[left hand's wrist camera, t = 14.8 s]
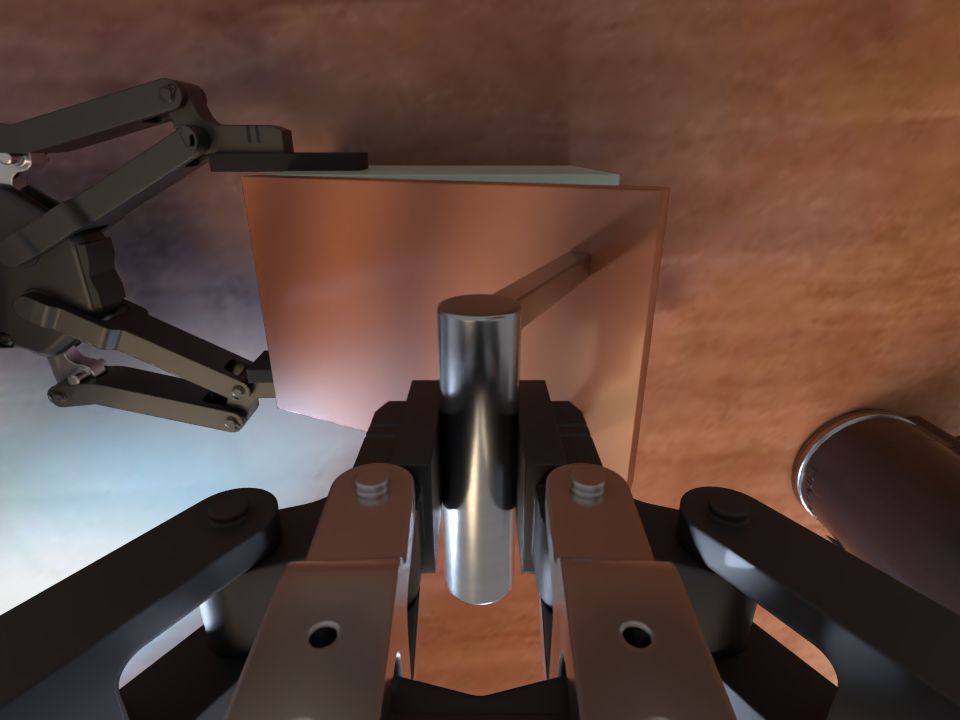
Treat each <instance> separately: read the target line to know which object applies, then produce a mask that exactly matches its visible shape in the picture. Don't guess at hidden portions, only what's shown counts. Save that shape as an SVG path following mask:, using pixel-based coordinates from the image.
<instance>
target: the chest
mask: <svg viewBox="0 0 960 720" xmlns="http://www.w3.org/2000/svg"><path fill="white" fill-rule="evenodd" d="M262 175H287V176H320V177H354V178H387V179H421V180H454V181H487V182H521V183H554V184H588V185H619V180H620V175H619V174H615V173H610V172H604V171H599V170H594V169H588V168H583V167H577V166H574V165H368V169H364V170H360V171H283V172H276V173H269V174H262Z"/></svg>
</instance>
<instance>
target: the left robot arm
mask: <svg viewBox="0 0 960 720" xmlns="http://www.w3.org/2000/svg"><path fill="white" fill-rule="evenodd" d="M792 487H793V491H794V494H795V496H796V498H797V500H798V501H799V502H800V504H801V505H802V506H803V507H804V508H805V509H806V510H807V511H808V512H809V513H810V514H811V515H812V516H813V517H815V518H816V519H817V520H818V521H819V522H820V523H821V524H822V525H823V526H824V527H825V528H826V529H827V530H828V531H829V532H830V533H831V534H832V535H833V537H834V538H835V539H836V540H835V539H833V538H831V537H829V536H827V535H826V536H827V537H828V538H829V539H830V540H831V541H832V542H833V543H831V542H830V541H828V540H826V539H824V538H823V537H821V536H819V535H817V534H816V533H814V532H812V531H810V530H808V529H807V528H805V527H803V526H801V525H800V524H798V523H796V522H794V521H793V520H791V519H789V518H787V517H786V516H784V515H782V514H780V513H779V512H777V511H775V510H773V509H772V508H770V507H768V506H766V505H765V504H763V503H761V502H759V501H758V500H756V499H754V498H752V497H750V496H748V495H746V494H743V493H741V492H738V491H735V490H731V489H727V488H721V487H700V488H695V489H692V490H690V491H688V492H686V493H685V494H684V495H683V497H682V498H681V502H680V508H679V510H677V509H672V508H667V507H662V506H658V505H653V504H649V503H645V502H641V501H638V500H636V499H633V496H632V494H631V491H630V488H629V486H628V484H627V482H626V481H625V480H624V478H622V477H621V476H620V475H619V474H617V473H616V472H614V471H612V470H610V469H608V468H605V467H603V465H602V463H601V460H600V457H599V455H598V452H597V449H596V447H595V444H594V442H593V439H592V437H591V434H590V431H589V429H588V427H587V423H586V421H585V418H584V415H583V413H582V411H581V410H579V409H578V408H577V407H576V406H574V405H573V404H572V403H571V402H569V401H551V399H550V396H549V392H548V389H547V385H546V381H545V380H520V396H519V410H518V429H517V462H516V496H515V510H516V521H517V531H518V542H519V552H520V563H521V573H535V577H536V585H537V590H538V593H539V595H540V600H539V616H540V631H541V646H542V662H543V677H544V681H541V682H537V683H533V684H529V685H525V686H521V687H517V688H513V689H510V690H506V691H502V692H498V693H494V694H490V695H485V696H475V695H470V694H466V693H462V692H458V691H454V690H450V689H447V688H443V687H439V686H435V685H431V684H427V683H423V682H419V681H416V678H417V663H418V647H419V632H420V617H421V599H420V580H421V573H435V570H436V560H437V550H438V541H439V531H440V521H441V512H442V502H443V499H442V468H441V436H440V404H439V380H412V382H411V386H410V389H409V393H408V396H407V400H406V401H388V402H387V403H385V404H384V405H383V406H382V407H380V408H379V409H378V410H377V411H375V413H374V416H373V418H372V421H371V423H370V427H369V429H368V431H367V434H366V437H365V439H364V441H363V444H362V446H361V449H360V451H359V454H358V456H357V459H356V462H355V464H354V467H353V468H352V469H350V470H348V471H346V472H344V473H343V474H341V475H340V476H339V477H338V478H336V480H335V481H334V482H333V484H332V486H331V488H330V491H329V494H328V497H325V498H323V499H321V500H318V501H315V502H312V503H308V504H304V505H299V506H294V507H289V508H284V509H278V503H277V500H276V498H275V496H274V495H273V494H271V493H270V492H268V491H265V490H263V489H258V488H238V489H232V490H228V491H224V492H221V493H218V494H215V495H213V496H210V497H208V498H206V499H204V500H202V501H201V502H199V503H197V504H195V505H194V506H192V507H190V508H188V509H187V510H185V511H183V512H181V513H180V514H178V515H176V516H174V517H173V518H171V519H169V520H167V521H166V522H164V523H162V524H160V525H159V526H157V527H155V528H153V529H151V530H150V531H148V532H146V533H144V534H143V535H141V536H139V537H137V538H136V539H134V540H132V541H130V542H129V543H127V544H125V545H123V546H122V547H120V548H118V549H116V550H115V551H113V552H111V553H109V554H108V555H106V556H104V557H102V558H101V559H99V560H97V561H95V562H93V563H92V564H90V565H88V566H86V567H85V568H83V569H81V570H79V571H78V572H76V573H74V574H72V575H71V576H69V577H67V578H65V579H64V580H62V581H60V582H58V583H57V584H55V585H53V586H51V587H50V588H48V589H46V590H44V591H43V592H41V593H39V594H37V595H35V596H34V597H32V598H30V599H28V600H27V601H25V602H23V603H21V604H20V605H18V606H16V607H14V608H13V609H11V610H9V611H7V612H6V613H4V614H2V615H0V720H960V436H957V437H954V436H952V435H950V434H949V433H947V432H945V431H944V430H942V429H940V428H939V427H937V426H935V425H934V424H932V423H930V422H929V421H927V420H925V419H923V418H922V417H920V416H916V417H912V418H905V417H903V416H901V415H899V414H897V413H894V412H891V411H887V410H879V409H870V410H862V411H857V412H853V413H849V414H847V415H844V416H842V417H839V418H837V419H835V420H833V421H831V422H830V423H828V424H827V425H825V426H824V427H822V428H821V429H820V430H818V431H817V432H816V433H815V434H814V435H813V436H812V437H811V438H810V439H809V440H808V441H807V442H806V444H805V445H804V446H803V448H802V449H801V451H800V452H799V454H798V456H797V458H796V461H795V463H794V466H793V470H792ZM757 603H758V604H759V605H760V606H762V607H763V608H764V609H766V610H767V611H768V612H770V613H771V614H773V615H774V616H775V617H777V618H778V619H779V620H781V621H782V622H783V623H785V624H786V625H787V626H789V627H790V628H792V629H793V630H794V631H796V632H797V633H798V634H800V635H801V636H802V637H804V638H805V639H807V640H808V641H809V642H811V643H812V644H813V645H815V646H816V647H817V648H818V649H819V650H820V651H821V652H822V653H823V654H824V655H825V656H826V657H827V658H828V660H829V661H830V663H831V664H832V666H833V668H834V669H835V672H836V675H837V679H838V687H837V686H835V685H834V684H833V683H831V682H830V681H829V680H828V679H826V678H825V677H824V676H822V675H821V674H820V673H818V672H817V671H816V670H815V669H813V668H812V667H811V666H809V665H808V664H807V663H805V662H804V661H803V660H802V659H800V658H799V657H798V656H796V655H795V654H794V653H792V652H791V651H790V650H789V649H787V648H786V647H785V646H783V645H782V644H781V643H779V642H778V641H777V640H776V639H774V638H773V637H772V636H770V635H769V634H768V633H766V632H765V631H764V630H763V629H761V628H760V627H759V626H757V625H756V624H755V623H754V622H753V618H754V614H755V610H756V606H757ZM198 606H199V607H200V611H201V615H202V619H203V623H204V625H203V626H201V627H200V628H199V629H197V630H196V631H195V632H193V633H192V634H191V635H190V636H188V637H187V638H186V639H184V640H183V641H182V642H181V643H179V644H178V645H177V646H175V647H174V648H173V649H171V650H170V651H169V652H168V653H166V654H165V655H164V656H162V657H161V658H160V659H158V660H157V661H156V662H155V663H153V664H152V665H151V666H149V667H148V668H147V669H145V670H144V671H143V672H142V673H140V674H139V675H138V676H136V677H135V678H134V679H132V680H131V681H130V682H129V683H127V684H126V685H125V686H123V687H122V688H121V689H119V680H120V676H121V674H122V671H123V669H124V668H125V666H126V665H127V663H128V662H129V660H130V659H131V658H132V657H133V656H134V655H135V654H136V653H137V652H138V651H139V650H140V649H141V648H143V647H144V646H145V645H147V644H148V643H149V642H151V641H152V640H153V639H155V638H156V637H158V636H159V635H160V634H162V633H163V632H164V631H166V630H167V629H168V628H170V627H171V626H173V625H174V624H175V623H177V622H178V621H179V620H181V619H182V618H183V617H185V616H186V615H187V614H189V613H190V612H192V611H193V610H194V609H196V608H197V607H198Z"/></svg>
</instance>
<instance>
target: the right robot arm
mask: <svg viewBox="0 0 960 720" xmlns="http://www.w3.org/2000/svg"><path fill="white" fill-rule="evenodd" d="M206 104H207V98H206V95H205V93H204V91H203V90H202V89H201V88H200V87H199V86H196V85H194V84H190V83H185V82H181V81H176V80H172V79H167V78H163V79H158V80H155V81H151V82H148V83H145V84H142V85H138V86H135V87H132V88H129V89H125V90H122V91H119V92H116V93H113V94H109V95H106V96H103V97H100V98H96V99H93V100H90V101H87V102H83V103H80V104H77V105H74V106H71V107H67V108H64V109H61V110H58V111H54V112H51V113H48V114H45V115H41V116H38V117H35V118H32V119H29V120H25V121H22V122H19V123H10V122H0V349H1V348H21V349H25V350H28V351H31V352H33V353H35V354H38V355H41V356H46V357H47V359H48V362H49V364H50V366H51V369H52V371H53V373H54V376H55V378H56V380H57V383H58V384H56V385H55V386H53V387H51V388H50V389H49V390H48V393H47V395H48V398H49V400H50V401H51V402H52V403H53V404H54V405H56V406H59V407H71V406H82V405H93V404H97V405H102V406H107V407H112V408H117V409H122V410H126V411H131V412H136V413H141V414H146V415H151V416H155V417H160V418H165V419H170V420H175V421H180V422H185V423H189V424H194V425H199V426H204V427H209V428H214V429H218V430H223V431H228V432H237V431H239V430H240V429H242V427H243V426H244V425H245V423H246V422H247V421H248V420H249V418H250V417H251V416H252V414H253V413H254V412H255V411H256V409H257V408H258V406H259V401H258V398H276V395H275V389H274V383H273V376H272V370H271V364H270V357H269V351H264V352H263V353H262V354H261V355H260V356H259V357H258V358H257V359H256V360H255V361H254V362H252V361H250V360H247V359H245V358H243V357H241V356H238V355H236V354H234V353H232V352H230V351H227V350H225V349H223V348H221V347H218V346H216V345H214V344H212V343H210V342H207V341H205V340H203V339H201V338H198V337H196V336H194V335H192V334H190V333H187V332H185V331H183V330H181V329H178V328H176V327H174V326H172V325H170V324H167V323H165V322H163V321H161V320H158V319H156V318H154V317H152V316H150V315H149V314H148V311H147V310H146V309H145V308H143V307H141V306H138V305H136V304H134V303H132V302H130V301H127V300H125V299H123V298H125V297H126V295H125V291H124V288H123V284H122V281H121V280H120V278H119V276H118V274H117V272H116V270H115V268H114V254H115V252H114V248H113V245H112V241H111V237H105V236H104V234H103V233H102V232H103V231H105V230H106V229H108V228H109V227H111V226H112V225H114V224H116V223H117V222H119V221H120V220H122V219H123V218H124V217H125V215H126V214H127V213H129V212H130V211H132V210H133V209H135V208H137V207H138V206H140V205H141V204H143V203H144V202H146V201H147V200H149V199H151V198H152V197H154V196H155V195H157V194H158V193H160V192H162V191H163V190H165V189H166V188H168V187H169V186H171V185H172V184H174V183H176V182H177V181H179V180H180V179H182V178H183V177H185V176H186V175H188V174H190V173H191V172H193V171H194V170H196V169H197V168H199V167H200V166H202V165H204V164H205V163H207V162H208V161H209V163H210V168H211V172H283V171H360V170H364V169H368V155H367V152H360V153H294V150H293V142H292V134H291V131H290V130H288V129H285V128H283V127H281V126H273V125H222V124H220V123H219V122H217V121H216V120H215V119H214V118H213V116H212V115H211V113H210V111H209V109H208V107H207V105H206ZM169 121H172V122H173V124H174V125H175V126H174V128H175V129H177V130H176V131H175V132H173V133H172V134H170V135H169V136H167V137H166V138H164V139H163V140H161V141H160V142H158V143H157V144H155V145H153V146H152V147H150V148H149V149H147V150H146V151H144V152H143V153H141V154H140V155H138V156H137V157H135V158H134V159H132V160H131V161H129V162H128V163H126V164H125V165H123V166H122V167H120V168H119V169H117V170H116V171H114V172H113V173H111V174H110V175H108V176H107V177H105V178H104V179H102V180H101V181H99V182H98V183H96V184H94V185H93V186H91V187H90V188H88V189H87V190H85V191H84V192H82V193H81V194H79V195H78V196H76V197H75V198H72V199H70V200H67V201H64V202H62V203H59V202H58V201H56V200H54V199H53V198H51V197H49V196H48V195H46V194H44V193H43V192H41V191H39V190H38V189H36V188H34V187H33V186H31V185H28V184H27V178H28V176H29V174H30V173H31V172H33V171H37V170H41V169H42V168H44V166H45V164H46V163H48V162H49V160H50V157H49V154H48V153H61V152H68V151H73V150H77V149H80V148H83V147H87V146H90V145H93V144H97V143H100V142H103V141H107V140H110V139H113V138H116V137H120V136H123V135H126V134H130V133H133V132H136V131H139V130H143V129H146V128H149V127H153V126H156V125H159V124H163V123H166V122H169ZM82 342H85V343H87V344H89V345H92V346H94V347H96V348H99V349H104V350H118V351H120V352H123V353H125V354H127V355H130V356H132V357H134V358H137V359H139V360H141V361H143V362H146V363H148V364H150V365H153V366H155V367H157V368H160V369H162V370H164V371H167V372H169V373H171V374H174V375H176V376H178V377H181V378H177V377H173V376H168V375H163V374H159V373H154V372H149V371H145V370H140V369H136V368H130V367H124V366H107V362H106V361H105V360H104V359H94V358H87V357H85V356H83V355H82V354H80V352H79V351H78V350H77V348H76V347H77V346H78V345H79V344H81V343H82ZM182 378H183V379H182Z"/></svg>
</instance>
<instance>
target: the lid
mask: <svg viewBox="0 0 960 720" xmlns="http://www.w3.org/2000/svg"><path fill="white" fill-rule="evenodd" d="M241 180H242V187H243V193H244V199H245V206H246V212H247V218H248V225H249V231H250V237H251V244H252V250H253V256H254V263H255V269H256V275H257V282H258V288H259V294H260V301H261V307H262V313H263V319H264V326H265V332H266V338H267V345H268V351H269V357H270V364H271V370H272V376H273V383H274V389H275V395H276V402H277V407H278V408H279V409H283V410H286V411H290V412H294V413H298V414H301V415H305V416H309V417H313V418H316V419H320V420H324V421H328V422H332V423H335V424H339V425H343V426H347V427H350V428H354V429H358V430H362V431H365V432H367V431H368V429H369V427H370V423H371V421H372V418H373V416H374V413H375V411H377V410H378V409H379V408H380V407H382V406H383V405H384V404H385V403H387V402H388V401H406V400H407V396H408V393H409V389H410V386H411V382H412V380H439V404H440V436H441V468H442V499H443V531H444V563H445V582H446V585H447V587H448V589H449V591H450V592H451V593H452V595H453V596H455V597H456V598H457V599H459V600H460V601H462V602H465V603H468V604H472V605H487V604H491V603H494V602H496V601H499V600H500V599H502V598H503V597H504V596H506V594H507V593H508V592H509V591H510V589H511V587H512V585H513V582H514V560H515V541H516V540H517V538H518V531H517V521H516V510H515V496H516V462H517V429H518V410H519V396H520V380H545V381H546V385H547V389H548V392H549V396H550V399H551V401H569V402H571V403H572V404H573V405H574V406H576V407H577V408H578V409H579V410H581V411H582V413H583V415H584V418H585V421H586V423H587V427H588V429H589V431H590V434H591V437H592V439H593V442H594V444H595V447H596V449H597V452H598V455H599V457H600V460H601V463H602V465H603V467H605V468H608V469H610V470H612V471H614V472H616V473H617V474H619V475H620V476H621V477H622V478H624V480H625V481H626V482H627V484H628V486H629V488H631V485H632V482H633V477H634V469H635V461H636V453H637V445H638V438H639V430H640V422H641V414H642V406H643V398H644V390H645V382H646V374H647V367H648V359H649V351H650V343H651V335H652V327H653V319H654V311H655V303H656V296H657V288H658V280H659V272H660V264H661V256H662V248H663V240H664V232H665V225H666V217H667V209H668V201H669V193H670V188H669V187H655V186H621V185H588V184H554V183H521V182H487V181H454V180H421V179H387V178H354V177H320V176H287V175H254V176H242V177H241Z"/></svg>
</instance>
